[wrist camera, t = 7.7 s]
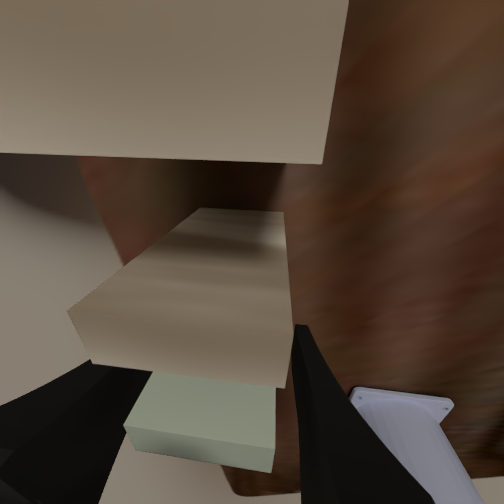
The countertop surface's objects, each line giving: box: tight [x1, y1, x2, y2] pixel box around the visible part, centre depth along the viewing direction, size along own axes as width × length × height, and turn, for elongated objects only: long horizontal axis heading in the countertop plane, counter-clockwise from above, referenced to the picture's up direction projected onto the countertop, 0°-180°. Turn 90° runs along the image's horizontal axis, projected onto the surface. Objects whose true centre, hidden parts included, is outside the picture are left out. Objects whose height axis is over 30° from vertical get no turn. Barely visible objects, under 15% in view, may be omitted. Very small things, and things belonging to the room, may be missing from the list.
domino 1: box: [0, 0, 349, 164], centre depth 7 cm, size 2×5×9 cm, turn 89°
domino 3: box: [123, 371, 276, 473], centre depth 11 cm, size 2×5×9 cm, turn 88°
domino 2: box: [67, 208, 293, 388], centre depth 9 cm, size 2×5×9 cm, turn 88°
